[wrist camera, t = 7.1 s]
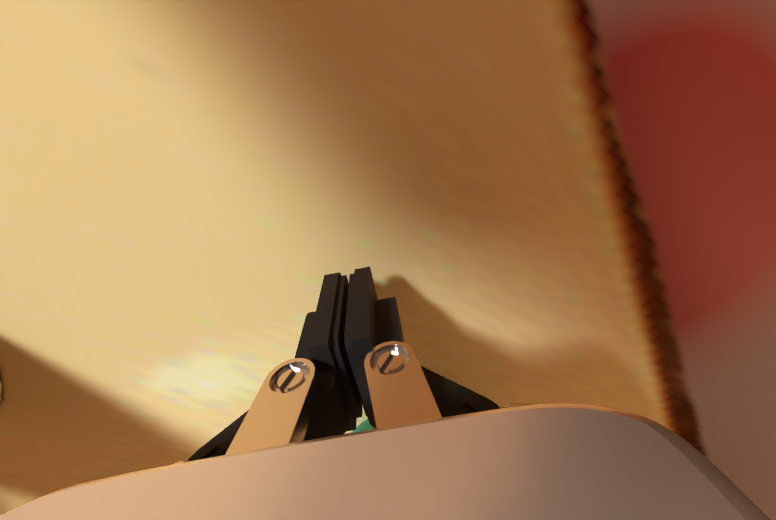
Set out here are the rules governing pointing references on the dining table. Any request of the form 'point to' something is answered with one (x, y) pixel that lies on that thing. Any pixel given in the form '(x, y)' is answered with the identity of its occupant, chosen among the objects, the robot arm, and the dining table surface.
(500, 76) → the dining table surface
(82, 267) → the dining table surface
